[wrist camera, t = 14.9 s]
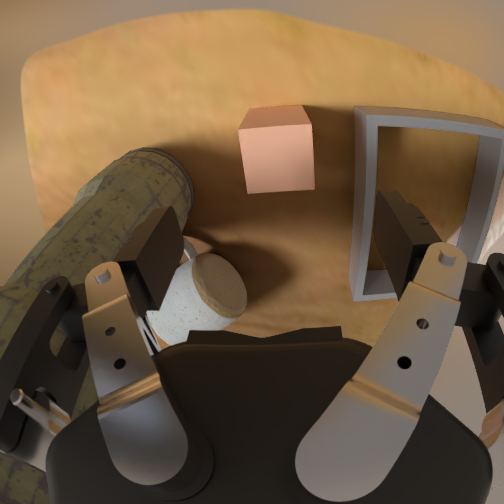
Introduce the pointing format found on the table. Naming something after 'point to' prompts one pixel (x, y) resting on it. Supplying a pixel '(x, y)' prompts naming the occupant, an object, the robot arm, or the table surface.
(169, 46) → the table surface
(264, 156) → the terracotta block
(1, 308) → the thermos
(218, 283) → the ceramic mug
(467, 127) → the desk tray
